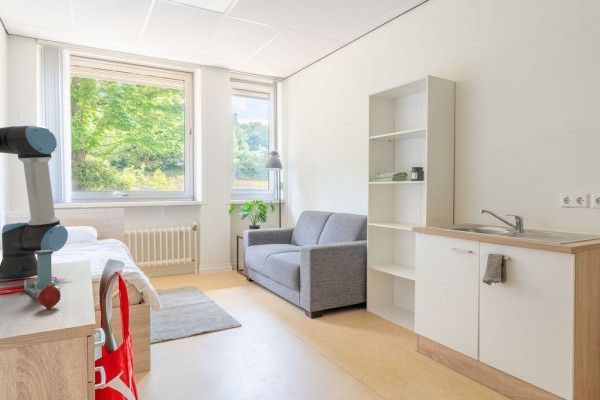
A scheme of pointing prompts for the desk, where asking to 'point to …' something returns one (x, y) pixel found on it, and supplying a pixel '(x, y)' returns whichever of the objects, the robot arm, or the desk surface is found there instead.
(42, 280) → the carriage
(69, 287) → the desk surface
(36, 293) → the rail
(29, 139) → the robot arm
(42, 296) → the onion
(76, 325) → the desk surface
